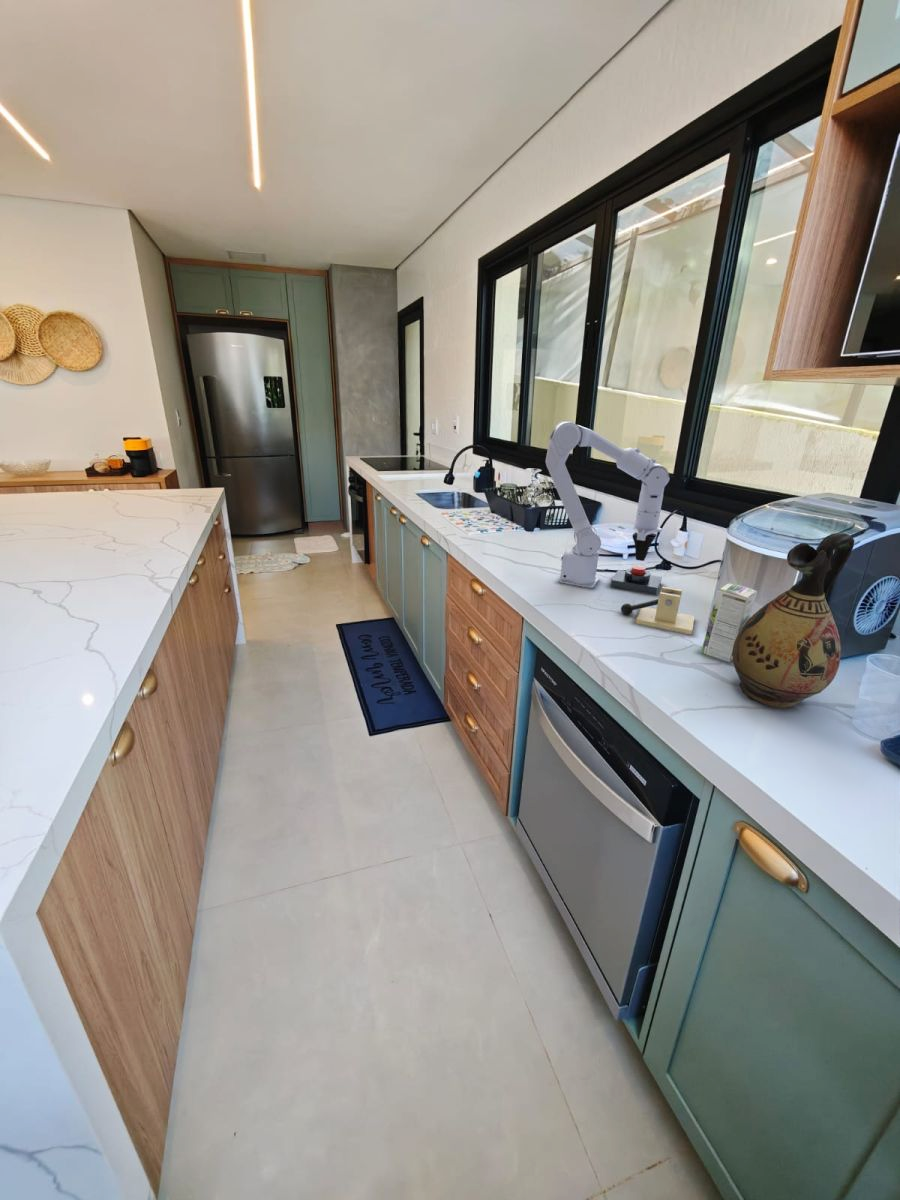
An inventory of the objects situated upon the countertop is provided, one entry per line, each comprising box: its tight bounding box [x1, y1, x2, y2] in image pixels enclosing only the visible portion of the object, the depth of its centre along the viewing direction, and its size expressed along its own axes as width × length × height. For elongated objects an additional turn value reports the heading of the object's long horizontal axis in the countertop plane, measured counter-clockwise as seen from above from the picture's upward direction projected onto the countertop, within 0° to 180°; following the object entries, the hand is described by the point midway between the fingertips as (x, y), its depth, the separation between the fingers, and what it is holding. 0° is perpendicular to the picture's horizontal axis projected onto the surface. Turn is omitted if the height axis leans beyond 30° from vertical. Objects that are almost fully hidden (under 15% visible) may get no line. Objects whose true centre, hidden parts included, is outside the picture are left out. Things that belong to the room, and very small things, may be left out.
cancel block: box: [610, 568, 663, 596], centre depth 140 cm, size 12×10×4 cm
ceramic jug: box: [732, 532, 855, 709], centre depth 85 cm, size 17×15×30 cm
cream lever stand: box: [635, 586, 696, 636], centre depth 117 cm, size 12×9×8 cm
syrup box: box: [700, 583, 758, 663], centre depth 102 cm, size 6×6×14 cm
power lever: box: [620, 591, 676, 616], centre depth 119 cm, size 13×3×3 cm, turn 62°
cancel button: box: [631, 565, 647, 575], centre depth 139 cm, size 4×4×2 cm
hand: (640, 559), depth 138 cm, fingers closed
